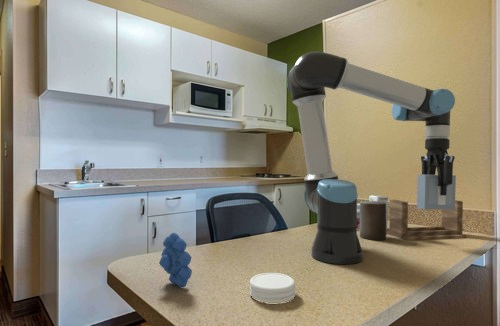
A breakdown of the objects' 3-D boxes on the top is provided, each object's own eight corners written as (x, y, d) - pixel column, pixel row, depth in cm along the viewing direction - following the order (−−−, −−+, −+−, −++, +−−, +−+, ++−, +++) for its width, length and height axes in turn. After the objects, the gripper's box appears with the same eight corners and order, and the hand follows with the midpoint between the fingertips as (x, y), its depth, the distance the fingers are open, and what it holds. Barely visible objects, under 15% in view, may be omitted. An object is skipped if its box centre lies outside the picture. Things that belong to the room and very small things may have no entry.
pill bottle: (356, 227, 141) (356, 202, 141) (369, 229, 137) (369, 204, 137) (348, 229, 137) (348, 203, 137) (361, 231, 133) (361, 205, 133)
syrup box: (368, 227, 140) (368, 195, 140) (379, 227, 142) (379, 195, 142) (376, 230, 135) (377, 196, 135) (388, 229, 137) (388, 196, 137)
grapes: (148, 282, 76) (148, 232, 76) (173, 275, 80) (174, 228, 80) (170, 298, 67) (171, 241, 67) (198, 289, 72) (198, 236, 72)
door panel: (424, 209, 110) (425, 175, 110) (416, 207, 114) (417, 174, 114) (455, 209, 112) (455, 175, 112) (445, 207, 116) (446, 174, 116)
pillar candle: (389, 241, 117) (389, 200, 117) (361, 239, 119) (362, 199, 119) (382, 235, 127) (382, 198, 127) (357, 234, 128) (357, 197, 128)
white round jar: (278, 284, 76) (278, 269, 76) (304, 300, 67) (304, 283, 67) (241, 291, 71) (241, 276, 71) (264, 310, 62) (264, 292, 62)
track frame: (405, 240, 119) (405, 202, 119) (386, 233, 130) (386, 199, 130) (466, 237, 123) (466, 201, 123) (443, 231, 135) (443, 198, 135)
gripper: (466, 136, 105) (465, 207, 105) (429, 140, 122) (427, 200, 122) (446, 136, 104) (445, 207, 104) (411, 139, 121) (410, 200, 121)
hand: (435, 203), depth 113 cm, fingers closed on door panel, 4 cm apart
